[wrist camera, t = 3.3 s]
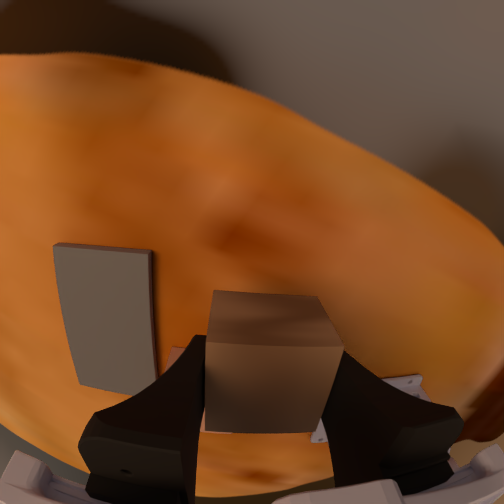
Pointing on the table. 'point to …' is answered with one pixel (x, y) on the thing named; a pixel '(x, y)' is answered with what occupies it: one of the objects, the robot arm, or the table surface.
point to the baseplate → (108, 315)
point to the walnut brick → (268, 363)
